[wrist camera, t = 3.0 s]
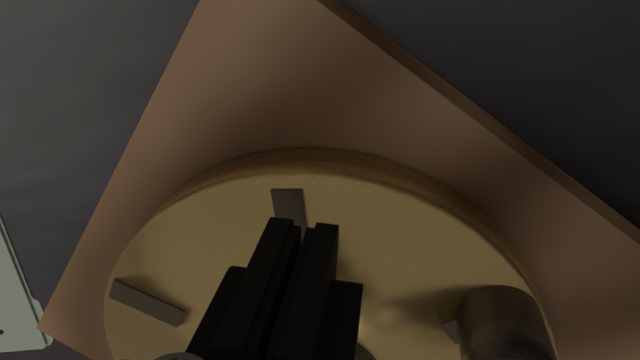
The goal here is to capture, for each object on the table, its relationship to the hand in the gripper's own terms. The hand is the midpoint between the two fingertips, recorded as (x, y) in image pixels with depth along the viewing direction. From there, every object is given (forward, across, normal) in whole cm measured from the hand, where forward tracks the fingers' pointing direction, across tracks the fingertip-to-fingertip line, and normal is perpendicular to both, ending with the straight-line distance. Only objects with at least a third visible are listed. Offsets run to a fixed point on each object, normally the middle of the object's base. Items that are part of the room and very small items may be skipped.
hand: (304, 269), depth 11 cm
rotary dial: (+4, 0, +7) cm, 8 cm away
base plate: (+7, 0, +7) cm, 9 cm away
